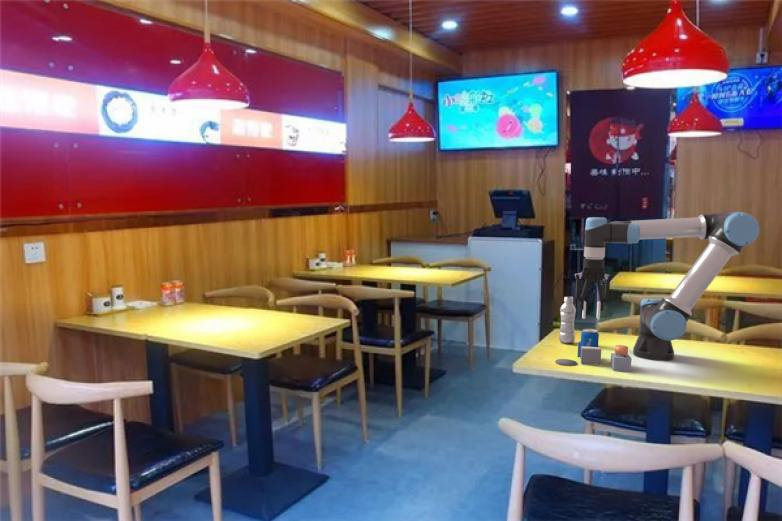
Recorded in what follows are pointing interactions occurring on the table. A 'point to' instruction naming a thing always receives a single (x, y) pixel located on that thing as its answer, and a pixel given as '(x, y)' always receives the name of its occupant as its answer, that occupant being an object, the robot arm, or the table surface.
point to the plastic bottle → (567, 321)
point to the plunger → (621, 350)
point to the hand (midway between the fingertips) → (590, 318)
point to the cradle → (589, 354)
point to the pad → (566, 362)
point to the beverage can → (589, 338)
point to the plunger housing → (620, 362)
